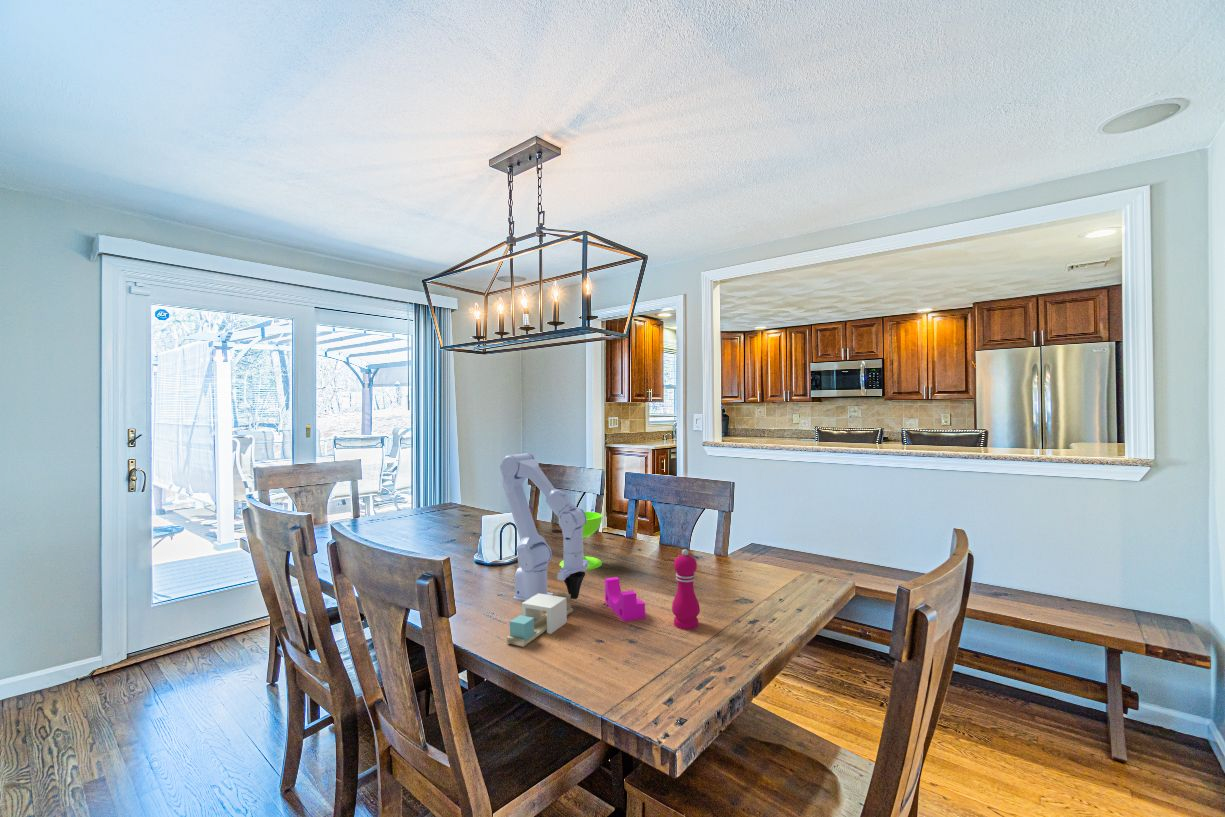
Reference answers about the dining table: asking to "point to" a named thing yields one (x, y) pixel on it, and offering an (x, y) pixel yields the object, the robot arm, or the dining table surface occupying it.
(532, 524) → the robot arm
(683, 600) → the pepper mill
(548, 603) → the cream tunnel
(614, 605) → the toy block
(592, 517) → the wineglass
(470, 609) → the dining table surface
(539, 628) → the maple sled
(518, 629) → the teal block
